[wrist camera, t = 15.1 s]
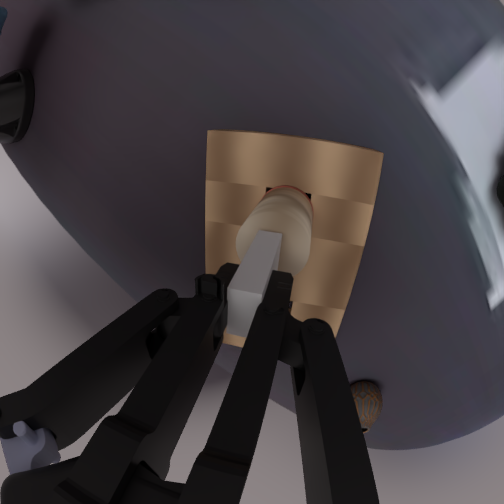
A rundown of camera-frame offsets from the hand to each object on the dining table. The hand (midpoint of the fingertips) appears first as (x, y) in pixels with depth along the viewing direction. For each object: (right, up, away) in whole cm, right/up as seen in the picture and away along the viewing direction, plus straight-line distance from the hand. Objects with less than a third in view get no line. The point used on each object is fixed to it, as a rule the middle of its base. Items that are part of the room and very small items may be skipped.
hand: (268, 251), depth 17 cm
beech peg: (+3, +5, +11) cm, 12 cm away
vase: (+18, -23, +22) cm, 36 cm away
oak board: (+3, 0, +14) cm, 14 cm away
